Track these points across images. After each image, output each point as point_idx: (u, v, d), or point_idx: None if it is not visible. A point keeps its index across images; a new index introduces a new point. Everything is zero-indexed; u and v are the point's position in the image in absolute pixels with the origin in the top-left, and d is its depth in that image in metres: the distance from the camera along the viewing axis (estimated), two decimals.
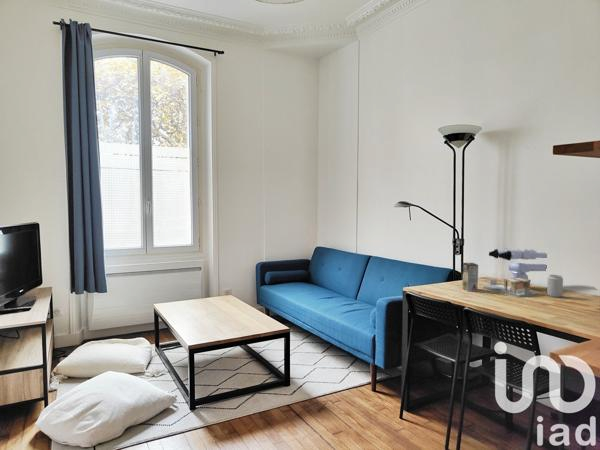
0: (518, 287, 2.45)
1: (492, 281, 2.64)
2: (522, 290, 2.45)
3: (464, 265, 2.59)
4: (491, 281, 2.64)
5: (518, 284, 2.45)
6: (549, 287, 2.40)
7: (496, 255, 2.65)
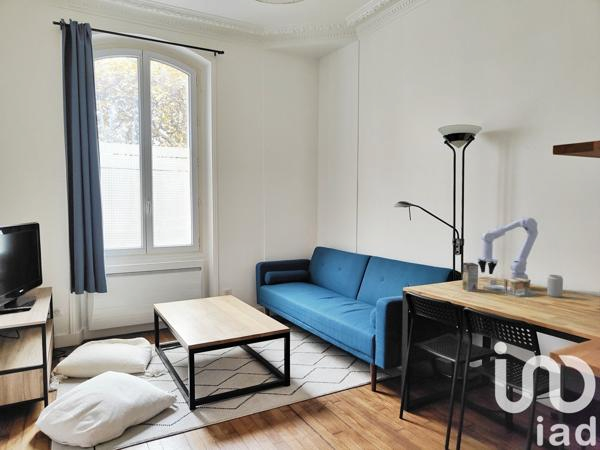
0: (518, 287, 2.45)
1: (492, 281, 2.64)
2: (522, 290, 2.45)
3: (464, 265, 2.59)
4: (491, 281, 2.64)
5: (518, 284, 2.45)
6: (549, 287, 2.40)
7: (484, 263, 2.72)
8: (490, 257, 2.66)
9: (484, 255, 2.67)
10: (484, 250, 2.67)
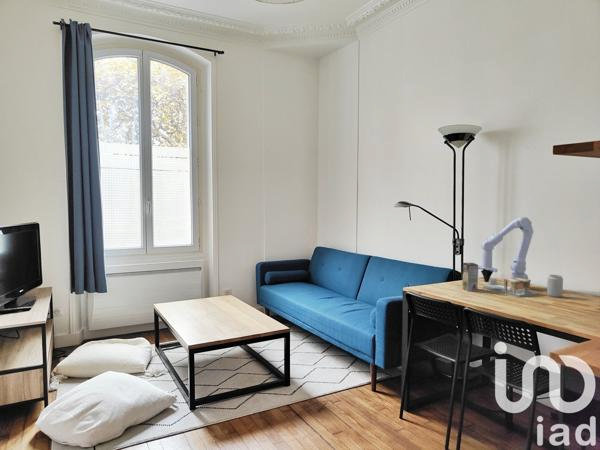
0: (518, 287, 2.45)
1: (492, 281, 2.64)
2: (522, 290, 2.45)
3: (464, 265, 2.59)
4: (491, 281, 2.64)
5: (518, 284, 2.45)
6: (549, 287, 2.40)
7: None
8: (490, 266, 2.66)
9: (484, 264, 2.67)
10: (484, 259, 2.67)
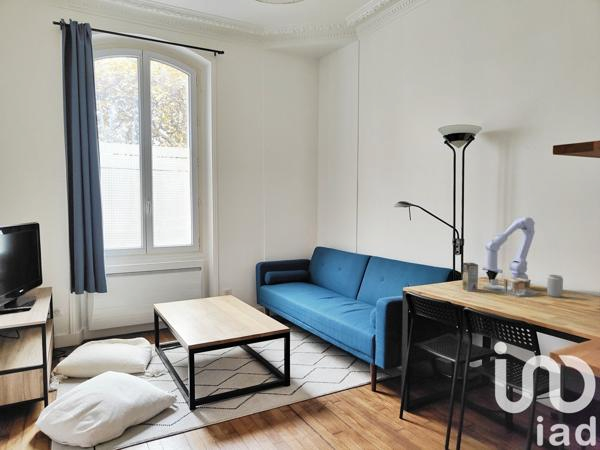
0: (519, 287, 2.44)
1: (493, 281, 2.63)
2: (523, 290, 2.44)
3: (464, 265, 2.59)
4: (492, 281, 2.63)
5: (519, 284, 2.44)
6: (549, 287, 2.40)
7: None
8: (495, 267, 2.62)
9: (489, 265, 2.64)
10: (490, 260, 2.63)
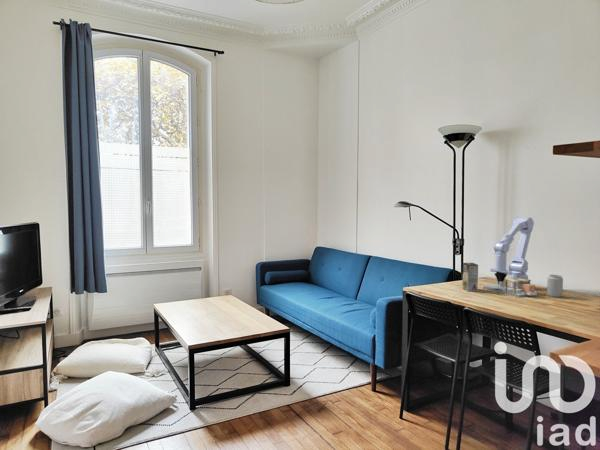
0: (530, 290, 2.38)
1: (502, 283, 2.57)
2: (534, 293, 2.38)
3: (464, 265, 2.59)
4: (501, 283, 2.56)
5: (530, 286, 2.38)
6: (549, 287, 2.40)
7: None
8: (504, 268, 2.56)
9: (498, 266, 2.57)
10: (501, 261, 2.56)
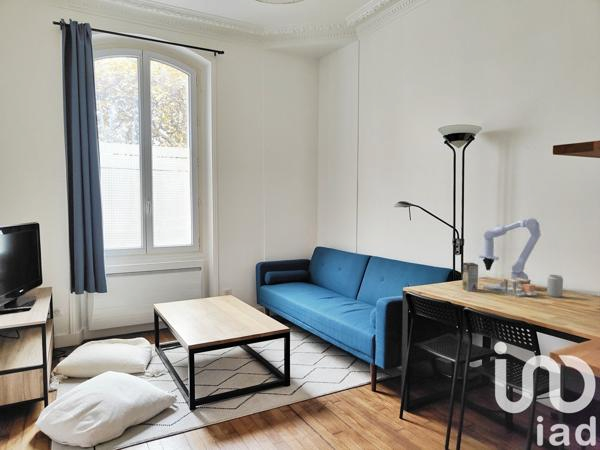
0: (530, 290, 2.38)
1: (502, 283, 2.57)
2: (534, 293, 2.38)
3: (464, 265, 2.59)
4: (501, 283, 2.56)
5: (530, 286, 2.38)
6: (549, 287, 2.40)
7: None
8: (491, 254, 2.73)
9: (485, 252, 2.74)
10: (484, 247, 2.75)
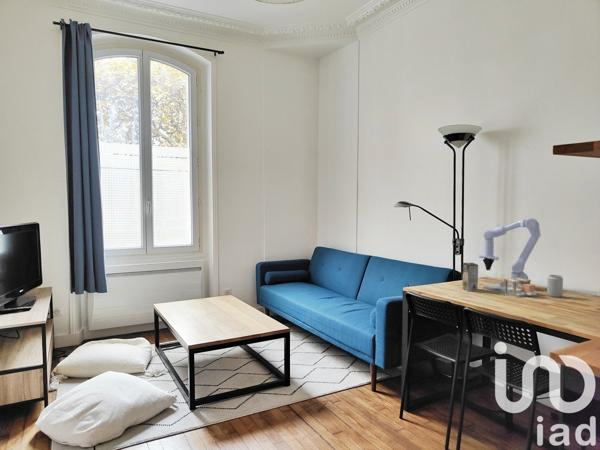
0: (530, 290, 2.38)
1: (502, 283, 2.57)
2: (534, 293, 2.38)
3: (464, 265, 2.59)
4: (501, 283, 2.56)
5: (530, 286, 2.38)
6: (549, 287, 2.40)
7: None
8: (491, 254, 2.73)
9: (485, 252, 2.74)
10: (484, 247, 2.75)
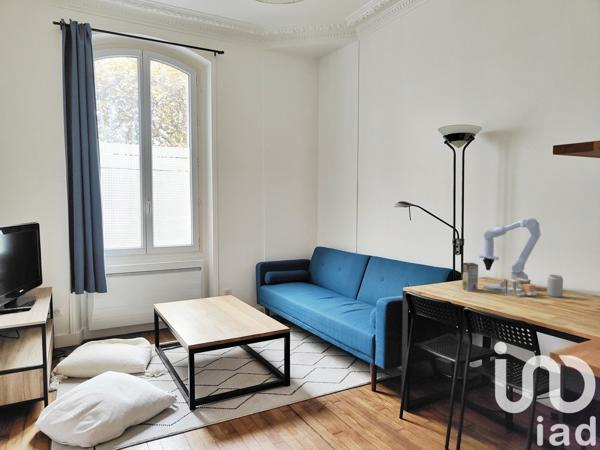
0: (530, 290, 2.38)
1: (502, 283, 2.57)
2: (534, 293, 2.38)
3: (464, 265, 2.59)
4: (501, 283, 2.56)
5: (530, 286, 2.38)
6: (549, 287, 2.40)
7: None
8: (491, 254, 2.73)
9: (485, 252, 2.74)
10: (484, 247, 2.75)
